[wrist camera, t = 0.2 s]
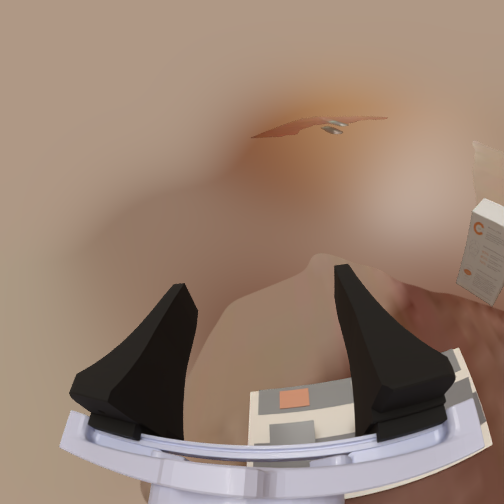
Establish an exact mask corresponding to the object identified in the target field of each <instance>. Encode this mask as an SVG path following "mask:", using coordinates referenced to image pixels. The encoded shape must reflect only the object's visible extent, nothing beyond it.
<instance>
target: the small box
mask: <svg viewBox="0 0 504 504" xmlns="http://www.w3.org/2000/svg"><path fill="white" fill-rule="evenodd" d="M456 283H457V284H458V285H460V286H462V287H463V288H465V289H466V290H468V291H470V292H471V293H473V294H474V295H476V296H477V297H479V298H480V299H482V300H483V301H485V302H486V303H488V304H489V305H491V306H493V304H494V303H495V301H496V299H497V297H498V295H499V293H500V292H501V290H502V288H503V286H504V207H503V206H501V205H499V204H497V203H495V202H492V201H490V200H488V199H486V198H484V199H483V200H482V201H481V202H480V203H479V204H478V205H477V206H476V207H475V209H474V210H473V211H472V215H471V222H470V228H469V233H468V237H467V242H466V247H465V251H464V255H463V259H462V263H461V267H460V270H459V274H458V278H457V282H456Z"/></svg>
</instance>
